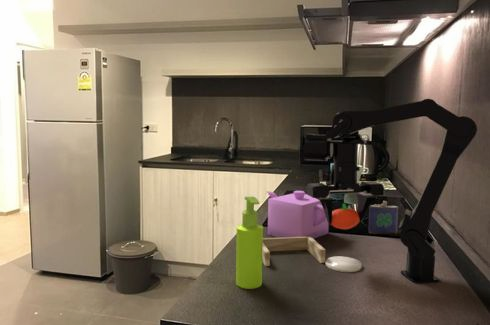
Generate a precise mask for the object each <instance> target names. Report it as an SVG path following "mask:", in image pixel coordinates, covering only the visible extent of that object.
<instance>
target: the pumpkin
mask: <svg viewBox="0 0 490 325" xmlns="http://www.w3.org/2000/svg"><path fill="white" fill-rule="evenodd" d="M359 221H360V219H359V215H358V213H357V210H355V209H354V208H350V207H347V204H346V203H342V208H338V209H333V210H332V222H331V224H330V226H333V228H336V229H339V230H349V229H352V228H355V227H357V225H358V224H359Z"/></svg>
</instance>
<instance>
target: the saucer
mask: <svg viewBox="0 0 490 325" xmlns="http://www.w3.org/2000/svg"><path fill="white" fill-rule="evenodd" d="M324 264H325V266H326V268H328V269H330V270H332V271H336V272H342V273H355V272H358V271H360V270H361V269H362V266H363V265H362V262H361V261H360V260H359V259H357V258H353V257H349V256H337V255H336V256H330V257H328V258H325V263H324Z"/></svg>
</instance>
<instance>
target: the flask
mask: <svg viewBox="0 0 490 325" xmlns="http://www.w3.org/2000/svg"><path fill="white" fill-rule="evenodd" d="M368 210H369V211H368V213H369V214H368V233H369V234H374V235H375V234H376V235H377V234H378V235H394V234H395V235H397V234H398V220H399V218H398V217H399V216H398V215H399V206H396V205H388V202H387V200H383V201H382V203H381V204H376V203H375V204H373V205H372V204H370V206H369V207H368Z"/></svg>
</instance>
